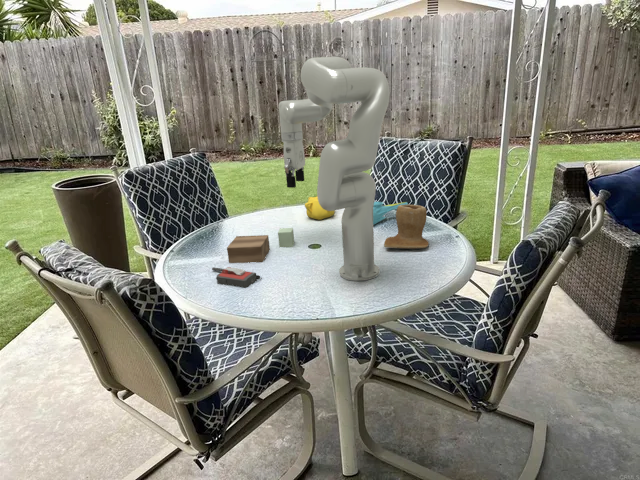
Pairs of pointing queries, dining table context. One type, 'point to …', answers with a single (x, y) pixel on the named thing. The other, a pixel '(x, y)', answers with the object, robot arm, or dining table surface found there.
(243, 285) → the walkie-talkie
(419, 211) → the clay spout
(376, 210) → the decorative bird
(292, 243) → the sage block
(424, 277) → the dining table surface
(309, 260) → the dining table surface
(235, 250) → the walnut box
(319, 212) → the teapot
